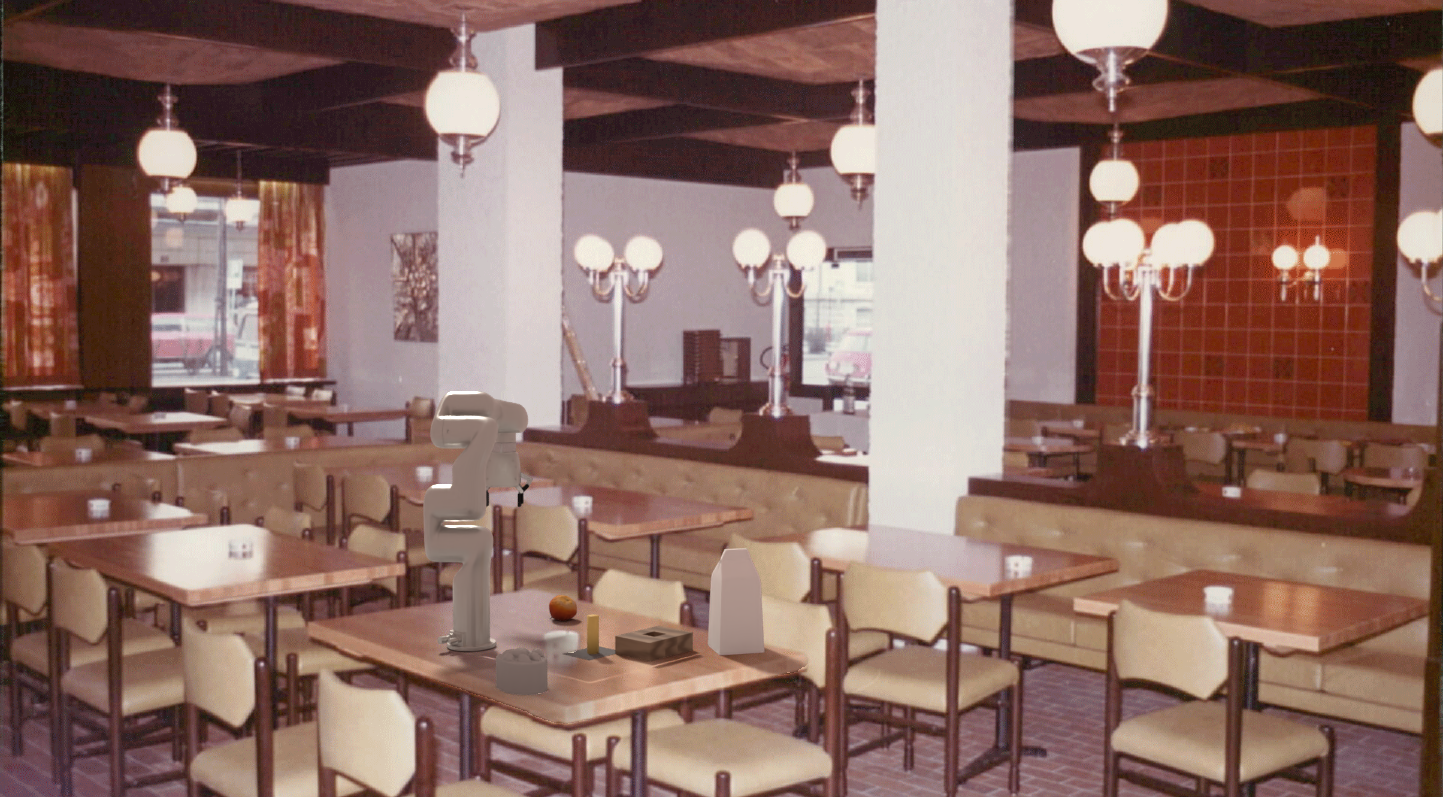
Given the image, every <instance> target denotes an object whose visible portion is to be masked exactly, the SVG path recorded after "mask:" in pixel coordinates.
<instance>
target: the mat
mask: <svg viewBox="0 0 1443 797" xmlns="http://www.w3.org/2000/svg"><path fill="white" fill-rule="evenodd" d="M575 651H576V650H575ZM563 655H565V656H569V657H572V658H577V659H582V660H586V661H593V660H596V659H602V658H604V657H609V656H612V655H616V654H615V648H614V649H613V648H609V647H604V646H600V645H599V653H598V654H588V653H587V647H585V648H582V649H581V648H580V649H577V651H576V652H574V653H568V652H564V653H563Z"/></svg>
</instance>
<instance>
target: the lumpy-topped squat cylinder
mask: <svg viewBox="0 0 1443 797" xmlns="http://www.w3.org/2000/svg"><path fill="white" fill-rule="evenodd" d="M495 688H496V689H497V690H500V692H503V693H506V694H511V695H517V696H534V695H536V694H537V695H539V694H538V693H542V694H543V692H544V693H546V692H547V691H548V657H547V655H545V654H544V652H543V650H542V649H541V648H538V647H537V648H533V650H528V648H526V647H517V648H511V649H506V650H504V651H502V653H499V654H497V655H496V656H495ZM546 690H547V691H546ZM545 691H546V692H545Z"/></svg>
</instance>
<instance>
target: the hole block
mask: <svg viewBox="0 0 1443 797" xmlns="http://www.w3.org/2000/svg"><path fill="white" fill-rule="evenodd" d="M614 638H615V639H614V641H615V642H614V644H615V645H614V646H615V647H614V650H615V654H614V655H618V656H622V657H627V658H631V659H635V660H640V661H644V662H650V663H651V662H653V661H657V660H661V659H665V658H668V657H673V656H676V655H680V654H683V653H684V654H685V653H687V652H691V651H693V650H694V649H693V648H694V644H693V643H694V642H693V641H694V633H693V631H688V630H684V629H683V630H682V629H678V628H673V627H667V626H663V625H657V626H652V627H647V628H643V629H640V630H635V631H631V632H627V633H621V634H618V635H615V636H614Z"/></svg>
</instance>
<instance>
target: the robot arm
mask: <svg viewBox="0 0 1443 797" xmlns="http://www.w3.org/2000/svg"><path fill="white" fill-rule="evenodd" d="M528 415H529V414H528V412H527V410H526V408H525V407H524V406H523V405H522V404H520V403H516V402H511V401H506V400H502V399H497V398H494V397H493V396H492V395H490V394H489V393H487V392H483V391H477V390H475V391H459V390H458V391H454V390H453V391H449V392H447V393H446V394H444V395H443V396H442V398H441V400H440V402H439V404H438V406H437V407H436V410H435V413H434V415H433V419H432V421H431V425H430V432H429V433H430V434H429V435H430V440H431V443H432V444H433V446H435V447H436V448H439V449H463V450H462V452H461V453H460V454H459V455H458V456H457V457H456V459H455V460H454V462H453V464H452V465H451V466H452V467H451V477H452V478H451V480H452V481H451V484H442V483H441V484H433V485H431V486H430V487H428V488H427V490H426V491H425V494H424V496H423V497H424V498H423V507H422V512H423V537H424V538H423V540H424V542H423V543H424V552H425V553H424V554H425V556H426V558H427V559H428V560H429V561H431V562H435V563H459V564H460V563H461V564H462V566H461V567H460V568H459V569H458V570H457V571H456V573H455V574H454V576H453V579H452V629H450V630H449V633H447V635H442V636H438V637H437V639H436V640H437V643H438V645H442V644H443V645H444V644H446V647H447V649H449V650H452V651H458V652H480V651H485V650H490V649H493V648H495V647H496V646H497V640H496V639H494V638H492V637H491V564H492V563H491V562H492V560H491V559H492V554H493V549H494V536H493V532H492V531H491V530H490V529H489V528H487V527H486V526H482V525H474V524H466V525H465V524H459V525H458V524H457V525H452V524H451V525H448V524H447V525H444V523H445V522H476V521H480V520H481V519H483V518H484V516H485V515H486V513H487V512H486V511H487V507H488V506H490V492H489V490H490V488H515V489H516V490H517V491H518V493H517V508H521V507H523V504H524V500H525V499H524V495H525V494H524V493H525V492H526V491H527V490H528V489H529V488H530V487H531V484H532V482H533V479H534V478H533V477H531V475H529V474H528V475H527V474H526V473H524V472H522V471H521V460H520V456H519V452H517V434H521V433H524V432H525V431H526V430H527V428H528V424H529V416H528ZM522 479H523V480H525V481H526V483H525V484H524V485H523V486H522V484H521V483H522Z"/></svg>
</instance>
